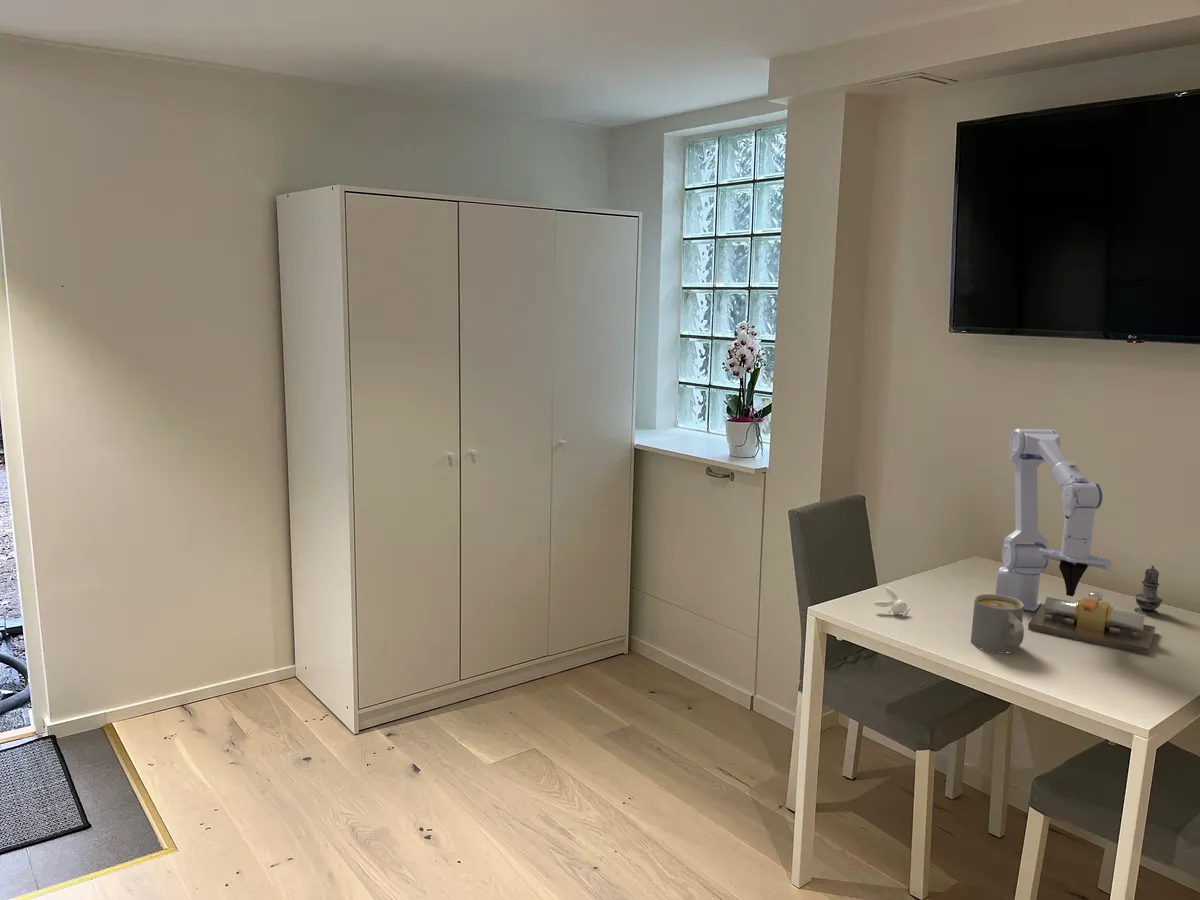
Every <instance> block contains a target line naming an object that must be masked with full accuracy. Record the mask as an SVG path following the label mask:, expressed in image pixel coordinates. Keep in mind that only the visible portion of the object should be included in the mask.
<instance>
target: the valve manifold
mask: <svg viewBox="0 0 1200 900" xmlns="http://www.w3.org/2000/svg"><path fill="white" fill-rule="evenodd" d="M1086 599H1089V598H1087V597H1082V598H1081V600H1079V599H1078V600H1076V601H1072V600H1071V601H1070V600H1065V599H1060V598H1055V597H1049V596H1046V598H1045V602H1044V603H1041V605H1040V606H1039V607H1038V610H1036V611H1035V614H1034V615H1033V617H1032V618H1031V619H1030V620H1029V622H1028V627H1027V630H1029V629H1031V630H1030V631H1034V630H1036V631H1035V632H1039V631H1040V633H1043V632H1045V633H1044V634H1048V633H1050V634H1049V635H1053V634H1055V635H1054V636H1057V635H1059V636H1058V637H1062V636H1063V638H1067V637H1068V638H1067V639H1071V640H1076V639H1077V641H1081V642H1086V643H1090V644H1094V643H1095V645H1098V646H1099V645H1100V646H1105V647H1108V648H1114V649H1118V650H1122V651H1123V650H1124V651H1128V652H1133V653H1136V654H1141V655H1145V656H1148V654H1149V651H1150V649H1151V646H1152V642H1153V639H1154V636H1155V633H1156V626H1153V625H1149V624H1145V617H1146V615H1143V614H1139V613H1137V614H1136V613H1133V612H1132V613H1131V612H1127V611H1123V610H1122V611H1121V610H1117V609H1114V607H1113V606H1112V605H1111V602H1109V601H1105V600H1104V601H1103V600H1100V601H1098V602H1097V607H1096V609H1095V611H1094V612H1093V613H1088V612H1083V611H1082V609H1083V604H1084V603H1085V601H1086Z"/></svg>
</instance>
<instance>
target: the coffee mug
mask: <svg viewBox="0 0 1200 900" xmlns="http://www.w3.org/2000/svg"><path fill="white" fill-rule="evenodd" d="M1024 611H1025V610H1024V604H1023V603H1022V602H1021V601H1019V600H1017V599H1015V598H1012V597H1008V596H1004V595H997V594H996V593H983V594H978V595H977V596H975V597H974V603H973V612H972V613H973V614H972V624H971V632H970V633H971V635H970V643H971V644H972V645H973V646H974V645H975V646H974V647H976V648H978V649H980V648H982V649H984V650H983V651H986V650H988V651H987V652H989V651H994V652H1003V653H1002V654H1007V653H1006V652H1014V653H1016V652H1015V651H1017V650H1018V651H1019V650H1020V645H1021V644H1022V642H1023V640H1024V637H1025V636H1024V635H1025V629H1024V624H1023V619H1024ZM982 649H981V650H982ZM1018 651H1017V652H1018ZM994 652H993V653H994Z"/></svg>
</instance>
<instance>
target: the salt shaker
mask: <svg viewBox="0 0 1200 900" xmlns="http://www.w3.org/2000/svg"><path fill="white" fill-rule="evenodd" d="M1159 575H1160V572H1159V571H1158V570H1157V569H1156V568H1155V566H1154V565H1151V566H1150V568H1147V569H1145V571H1144V580H1143V581H1141V583H1142V589H1141V592H1140V593H1138V594H1136V595H1134V598H1135V601H1136V604H1137V605H1138V607H1135V608H1134V611H1135V612H1136V613H1137V612H1139V613H1138V614H1140V613H1142V614H1141V615H1143V614H1146V615H1145V616H1148V615H1158V610H1156V609H1158V608H1159V607H1160V606H1161V604H1162V603H1163V599H1162V598H1160V597H1159V596H1158V586H1160V584H1159V583H1158V582H1159ZM1158 616H1159V615H1158Z"/></svg>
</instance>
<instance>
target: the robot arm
mask: <svg viewBox="0 0 1200 900" xmlns="http://www.w3.org/2000/svg"><path fill="white" fill-rule="evenodd" d="M1008 442H1009V445H1008V446H1009V448H1008V449H1009V461H1010V462H1011V463H1013V464H1014V477H1015V478H1014V484H1015V485H1014V492H1015V493H1014V494H1015V495H1014V496H1015V497H1014V498H1015V499H1014V500H1015V504H1014V505H1015V509H1014V510H1015V511H1014V512H1015V530H1014V531H1012V532H1011V533H1010V534H1008V535H1006V536H1005V537H1004V538H1003V539H1004V540H1003V548H1002V551H1001V559H1002V563H1003V565H1004V566H1000V567H999V570H998V571H997V572H998V573H997V576H996V577H997V578H996V579H997V580H996V586H995V587H996V588H995V594H997V595H1004V596H1008V597H1012V598H1015V599H1017V600H1019V601H1021V602H1022V603H1023V604H1024V610H1023V611H1031V612H1037V611H1038V610H1037V609H1039V608H1040V606H1041V605H1042V601H1041V600H1038V597H1039V589H1040V583H1041V582H1040V581H1041V580H1040V579H1041V574H1043V573H1044V572H1045V571H1044V570H1046V569H1047V568H1048V567H1050V566H1049V565H1050V563H1051V561H1054V562H1055V561H1056V562H1059V565H1058V568H1059V570H1060V573H1061V576H1062V578H1063V581H1064V586H1065V594H1066V596H1069V597H1074V596H1075V595H1076V590H1077V587H1078V585H1079V583H1080V581H1081V579H1082V577H1083V575H1084V573H1085V572H1086V570H1087V569H1088V567H1091V568H1096V569H1102V570H1105V571H1109V572H1110V571H1112V567H1113V560H1112V559H1107V558H1103V557H1099V556H1094V555H1091V549H1092V539H1093V532H1094V531H1093V530H1094V522H1095V514H1096V510H1097V509H1099V508H1100V507H1101V506H1102V503H1103V499H1104V497H1103V489H1102V487H1101V485H1100V483H1098V482H1097V481H1095V482H1093V481H1092V480H1088V479H1087V477H1086V476H1085V475H1084V473H1083V472H1082V470H1081V469H1080V468H1079V466H1078V465H1077V464H1076V463H1075V462H1073V461H1069V460H1067V458H1066V456H1065V454H1064V453H1063V450H1062V449H1061V436H1060V434H1059V433H1058V431H1057V430H1056V429H1054V428H1049V429H1042V428H1041V429H1037V428H1035V429H1033V428H1032V429H1031V428H1030V429H1028V428H1015V429H1014V430H1013V431H1012V432H1011V435H1010V437H1009V440H1008ZM1044 463H1046V464H1047V465H1048V466H1049V467H1050V468H1051V470H1052V471H1051V478H1052V479H1053V481H1054V482H1055V484H1056V485H1057V487H1058V489H1060V491H1061V501H1062V506H1063V507H1062V514H1063V515H1064V522H1063V533H1062V539H1061V549H1060V550H1059V549H1050V548H1049V541H1048V539H1047V538H1046V537H1045V536H1044V535H1043V534H1041V533H1040V532H1039V527H1038V526H1039V520H1038V519H1039V517H1038V514H1039V513H1038V512H1039V511H1038V509H1039V507H1038V468H1039V467H1040V465H1041V464H1044ZM1031 543H1033V544H1031Z"/></svg>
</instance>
